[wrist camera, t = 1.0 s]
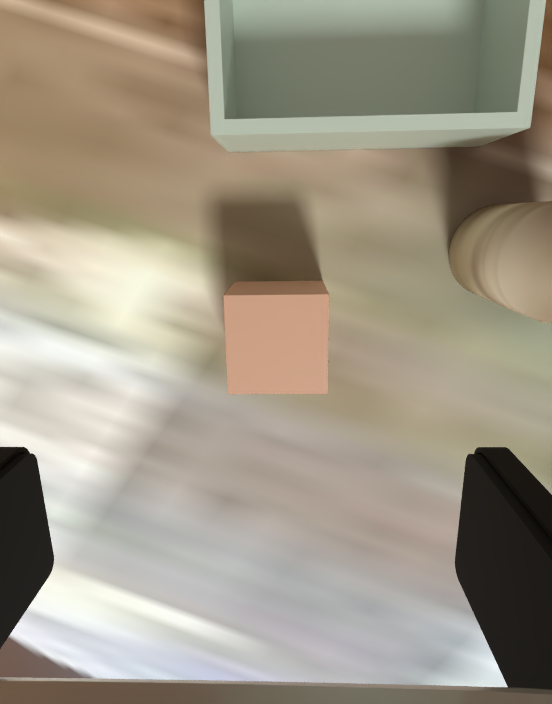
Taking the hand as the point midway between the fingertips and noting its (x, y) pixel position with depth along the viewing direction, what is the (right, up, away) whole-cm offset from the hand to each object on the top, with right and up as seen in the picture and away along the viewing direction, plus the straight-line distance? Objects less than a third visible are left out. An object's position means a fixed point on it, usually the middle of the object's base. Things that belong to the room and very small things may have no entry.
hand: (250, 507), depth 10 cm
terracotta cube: (+1, +5, +18) cm, 18 cm away
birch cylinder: (+13, +9, +16) cm, 22 cm away
